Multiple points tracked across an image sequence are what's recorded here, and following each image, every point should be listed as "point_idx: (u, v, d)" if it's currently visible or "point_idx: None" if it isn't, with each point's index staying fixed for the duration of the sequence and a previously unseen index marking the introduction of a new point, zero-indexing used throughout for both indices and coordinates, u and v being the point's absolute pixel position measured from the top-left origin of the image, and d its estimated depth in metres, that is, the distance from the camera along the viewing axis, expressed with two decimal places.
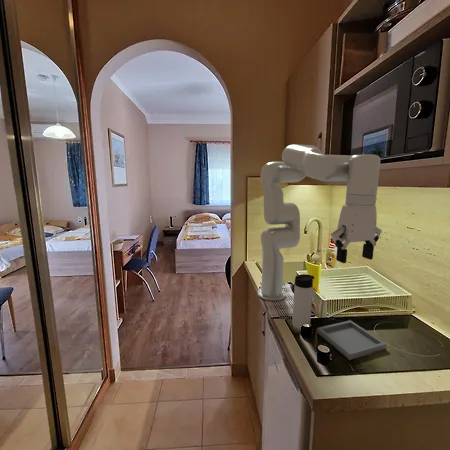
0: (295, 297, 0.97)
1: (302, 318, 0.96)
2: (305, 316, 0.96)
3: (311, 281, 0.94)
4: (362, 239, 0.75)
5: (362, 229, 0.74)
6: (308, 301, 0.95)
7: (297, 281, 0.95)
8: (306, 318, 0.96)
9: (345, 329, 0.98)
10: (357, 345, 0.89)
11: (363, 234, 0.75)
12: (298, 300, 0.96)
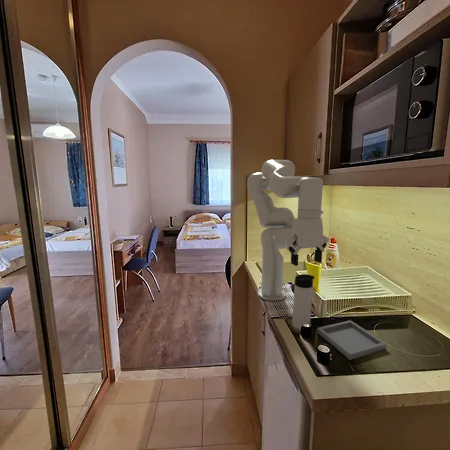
0: (295, 297, 0.97)
1: (302, 318, 0.96)
2: (305, 316, 0.96)
3: (311, 281, 0.94)
4: (311, 246, 0.92)
5: (310, 238, 0.91)
6: (308, 301, 0.95)
7: (297, 281, 0.95)
8: (306, 318, 0.96)
9: (345, 329, 0.98)
10: (357, 345, 0.89)
11: (311, 242, 0.91)
12: (298, 300, 0.96)
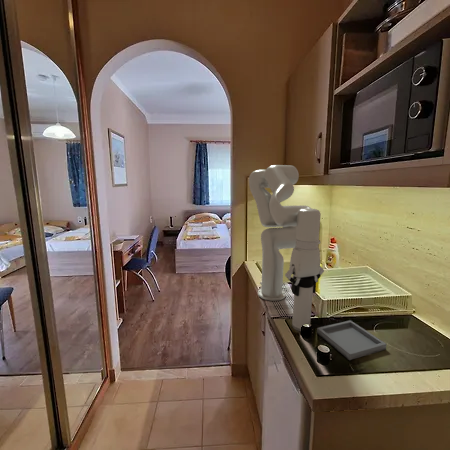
0: (295, 297, 0.97)
1: (302, 318, 0.96)
2: (305, 315, 0.96)
3: (311, 281, 0.94)
4: (308, 275, 0.94)
5: (307, 267, 0.93)
6: (308, 301, 0.95)
7: None
8: (306, 318, 0.96)
9: (345, 329, 0.98)
10: (357, 345, 0.89)
11: (309, 271, 0.94)
12: (298, 300, 0.96)
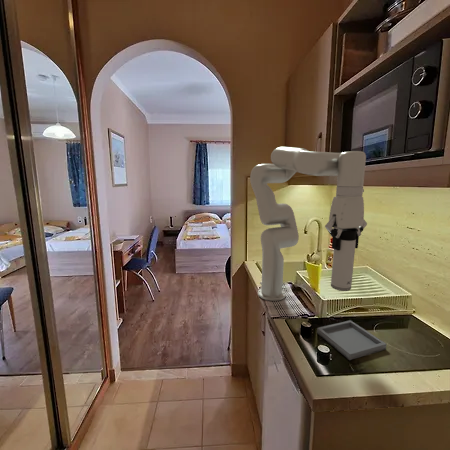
0: (336, 252, 0.87)
1: (343, 275, 0.86)
2: (347, 272, 0.86)
3: (355, 233, 0.85)
4: (351, 226, 0.85)
5: (351, 217, 0.84)
6: (351, 256, 0.85)
7: None
8: (348, 275, 0.87)
9: (345, 329, 0.98)
10: (357, 345, 0.89)
11: (352, 222, 0.84)
12: (339, 255, 0.86)
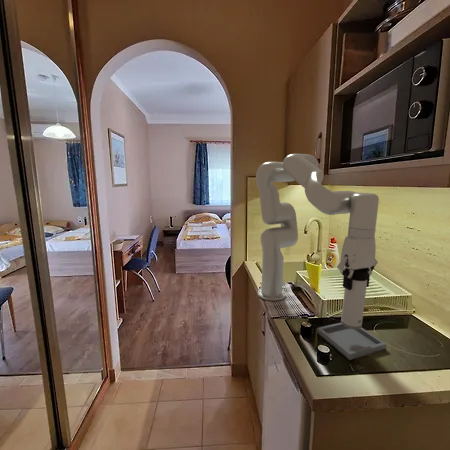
0: (347, 291, 0.88)
1: (354, 314, 0.87)
2: (359, 312, 0.87)
3: (366, 273, 0.85)
4: (363, 267, 0.85)
5: (363, 258, 0.84)
6: (362, 296, 0.86)
7: None
8: (359, 314, 0.87)
9: (345, 329, 0.98)
10: (357, 345, 0.89)
11: (363, 262, 0.84)
12: (351, 294, 0.86)
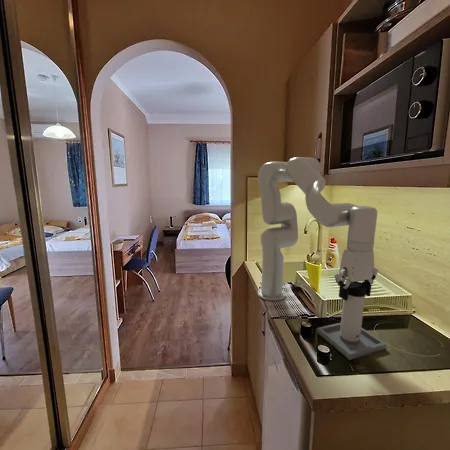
0: (345, 306, 0.89)
1: (352, 329, 0.88)
2: (357, 327, 0.88)
3: (364, 289, 0.86)
4: (361, 279, 0.86)
5: (361, 271, 0.85)
6: (360, 311, 0.87)
7: None
8: (357, 329, 0.88)
9: None
10: (357, 345, 0.89)
11: (362, 275, 0.85)
12: (349, 310, 0.88)
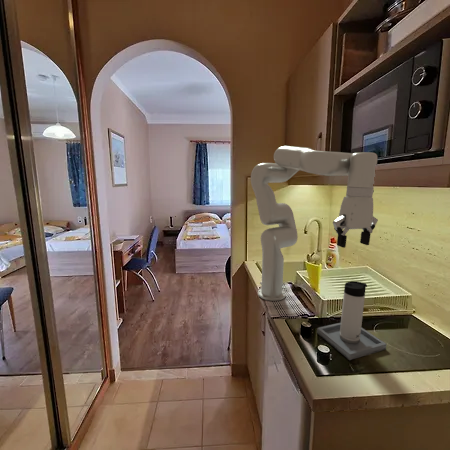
0: (345, 306, 0.89)
1: (352, 329, 0.88)
2: (356, 326, 0.88)
3: (364, 289, 0.86)
4: (360, 227, 0.86)
5: (360, 218, 0.85)
6: (360, 311, 0.87)
7: (348, 289, 0.88)
8: (357, 329, 0.88)
9: None
10: (357, 345, 0.89)
11: (361, 222, 0.85)
12: (349, 309, 0.88)
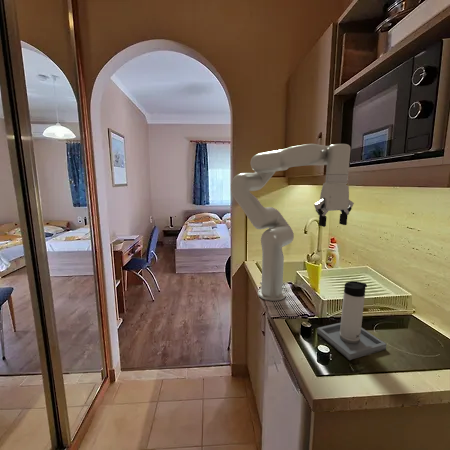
0: (345, 306, 0.89)
1: (352, 329, 0.88)
2: (356, 327, 0.88)
3: (364, 289, 0.86)
4: (338, 208, 1.00)
5: (337, 200, 0.98)
6: (360, 311, 0.87)
7: (348, 289, 0.87)
8: (357, 329, 0.88)
9: None
10: (357, 345, 0.89)
11: (338, 204, 0.99)
12: (349, 309, 0.88)
